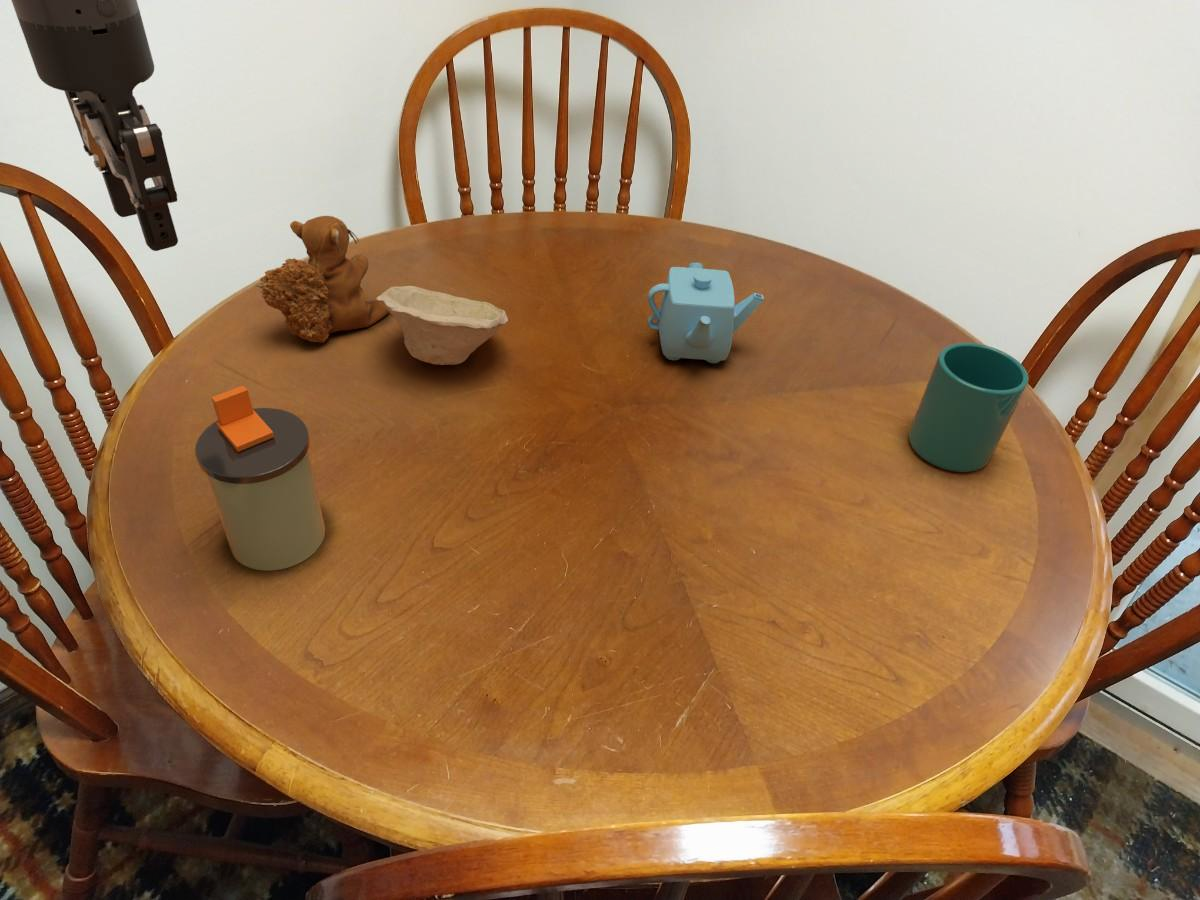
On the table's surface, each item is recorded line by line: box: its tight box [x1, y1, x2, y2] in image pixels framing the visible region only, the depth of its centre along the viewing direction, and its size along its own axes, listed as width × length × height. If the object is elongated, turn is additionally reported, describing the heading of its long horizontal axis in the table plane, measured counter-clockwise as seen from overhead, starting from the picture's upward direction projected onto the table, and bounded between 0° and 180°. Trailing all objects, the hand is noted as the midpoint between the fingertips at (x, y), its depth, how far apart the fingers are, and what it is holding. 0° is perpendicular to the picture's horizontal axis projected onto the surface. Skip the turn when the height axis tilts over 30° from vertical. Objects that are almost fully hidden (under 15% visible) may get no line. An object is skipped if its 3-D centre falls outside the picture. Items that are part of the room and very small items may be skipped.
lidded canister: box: [194, 407, 326, 572], centre depth 75 cm, size 9×9×12 cm
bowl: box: [376, 285, 509, 366], centre depth 99 cm, size 15×14×10 cm
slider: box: [211, 385, 274, 452], centre depth 71 cm, size 4×3×3 cm
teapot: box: [647, 261, 765, 364], centre depth 104 cm, size 18×14×10 cm
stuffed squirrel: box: [255, 215, 390, 344], centre depth 102 cm, size 10×14×13 cm
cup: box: [908, 342, 1029, 473], centre depth 93 cm, size 9×12×11 cm
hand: (147, 229), depth 69 cm, fingers open, 6 cm apart
